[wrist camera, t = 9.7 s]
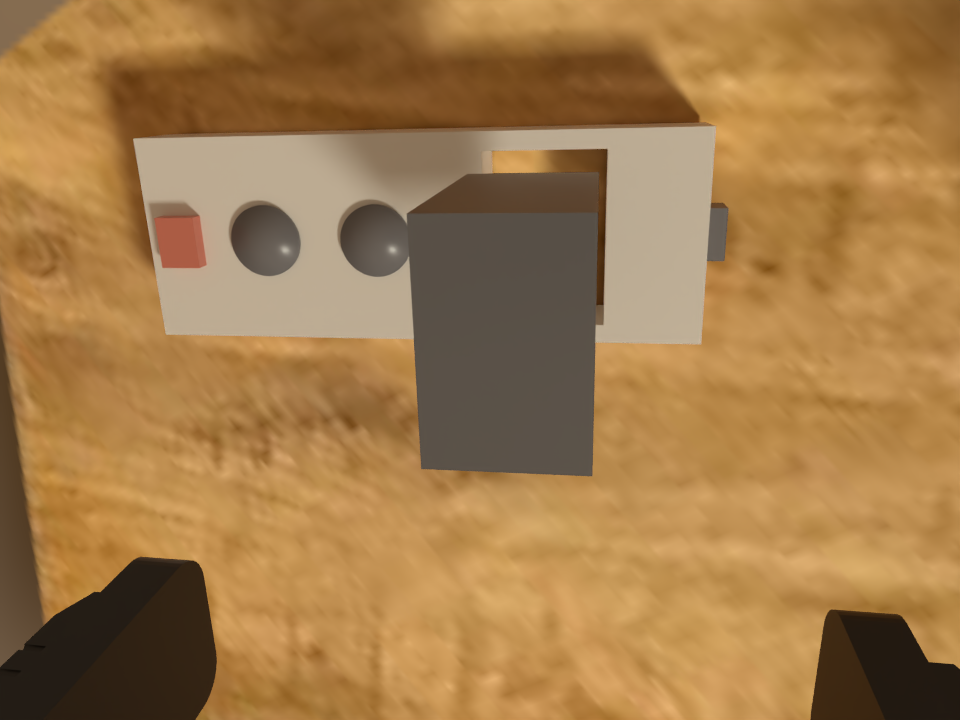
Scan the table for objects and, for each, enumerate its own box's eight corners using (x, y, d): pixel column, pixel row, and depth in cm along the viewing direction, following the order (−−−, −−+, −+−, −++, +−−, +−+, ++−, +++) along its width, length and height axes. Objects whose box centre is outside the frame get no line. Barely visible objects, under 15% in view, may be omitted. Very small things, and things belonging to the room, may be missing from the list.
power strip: (726, 121, 30) (742, 126, 26) (712, 322, 32) (724, 349, 29) (172, 134, 33) (124, 139, 30) (200, 314, 36) (158, 338, 32)
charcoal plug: (599, 172, 23) (597, 212, 16) (594, 361, 25) (592, 476, 18) (467, 173, 24) (406, 213, 16) (473, 358, 26) (421, 468, 18)
